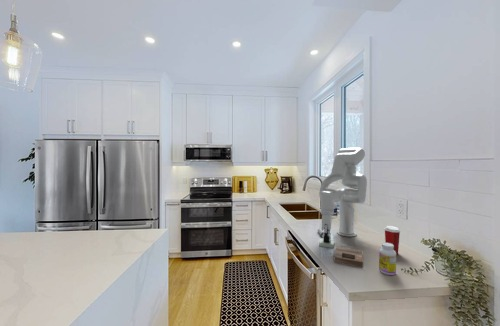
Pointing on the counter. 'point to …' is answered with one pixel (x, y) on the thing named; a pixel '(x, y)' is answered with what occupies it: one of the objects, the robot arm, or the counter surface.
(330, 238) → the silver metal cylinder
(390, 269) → the supplement bottle
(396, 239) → the paper cup
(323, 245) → the tab
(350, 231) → the robot arm
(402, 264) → the counter surface
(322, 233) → the torpedo
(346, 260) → the walnut flange plate
